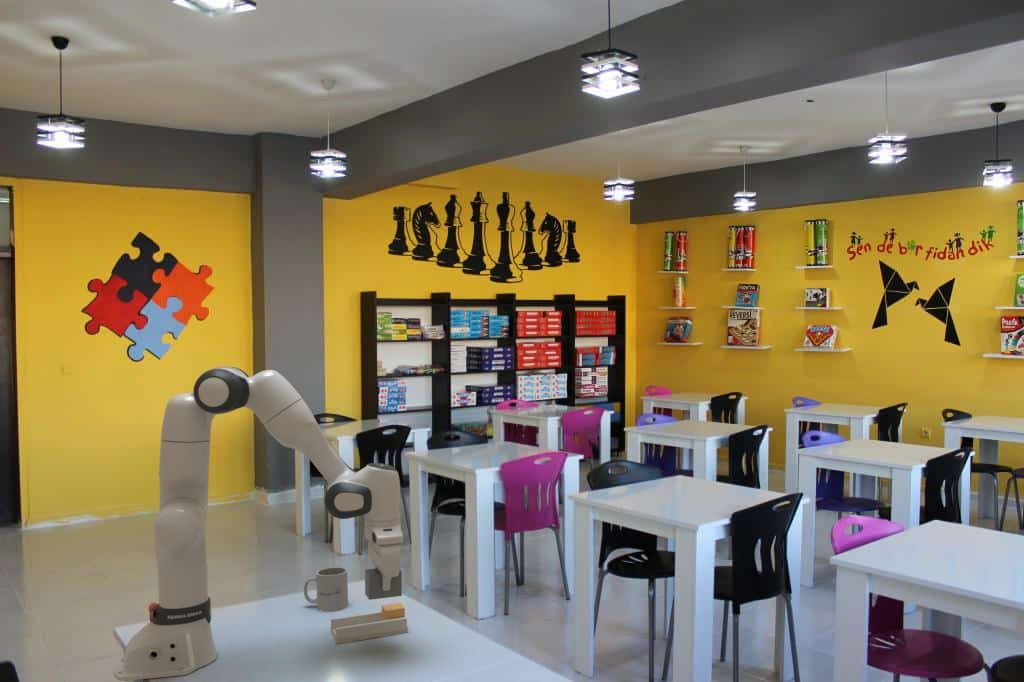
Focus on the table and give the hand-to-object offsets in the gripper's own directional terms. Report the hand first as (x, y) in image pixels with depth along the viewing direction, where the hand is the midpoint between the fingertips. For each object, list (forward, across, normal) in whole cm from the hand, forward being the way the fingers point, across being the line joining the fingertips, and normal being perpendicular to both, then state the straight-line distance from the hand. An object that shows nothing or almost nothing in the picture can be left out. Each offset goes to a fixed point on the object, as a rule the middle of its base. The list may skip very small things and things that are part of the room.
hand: (383, 586), depth 199 cm
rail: (+15, -12, -1) cm, 19 cm away
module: (+2, 0, 0) cm, 2 cm away
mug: (+15, -38, -8) cm, 42 cm away
